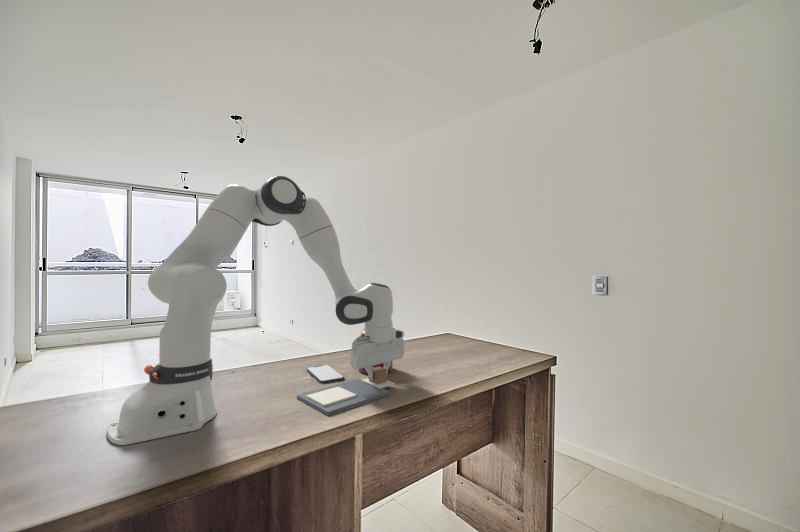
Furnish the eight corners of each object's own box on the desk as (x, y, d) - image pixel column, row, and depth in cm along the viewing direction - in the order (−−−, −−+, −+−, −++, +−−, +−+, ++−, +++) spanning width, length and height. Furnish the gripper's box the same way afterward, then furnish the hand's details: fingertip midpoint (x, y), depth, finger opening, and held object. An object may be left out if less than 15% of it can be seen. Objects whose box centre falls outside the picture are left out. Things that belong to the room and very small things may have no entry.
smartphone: (345, 382, 124) (328, 368, 138) (346, 377, 124) (328, 364, 138) (320, 386, 119) (305, 372, 133) (320, 381, 119) (305, 367, 133)
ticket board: (328, 415, 96) (328, 409, 96) (296, 398, 107) (296, 392, 107) (390, 394, 111) (390, 389, 111) (357, 381, 122) (357, 376, 122)
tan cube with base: (380, 388, 113) (380, 374, 113) (361, 381, 119) (361, 367, 119) (394, 384, 117) (394, 370, 117) (375, 377, 123) (375, 364, 123)
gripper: (359, 340, 108) (358, 387, 109) (407, 331, 123) (407, 372, 123) (346, 336, 113) (345, 381, 113) (394, 328, 127) (393, 368, 127)
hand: (377, 377), depth 118 cm, fingers closed on tan cube with base, 4 cm apart
